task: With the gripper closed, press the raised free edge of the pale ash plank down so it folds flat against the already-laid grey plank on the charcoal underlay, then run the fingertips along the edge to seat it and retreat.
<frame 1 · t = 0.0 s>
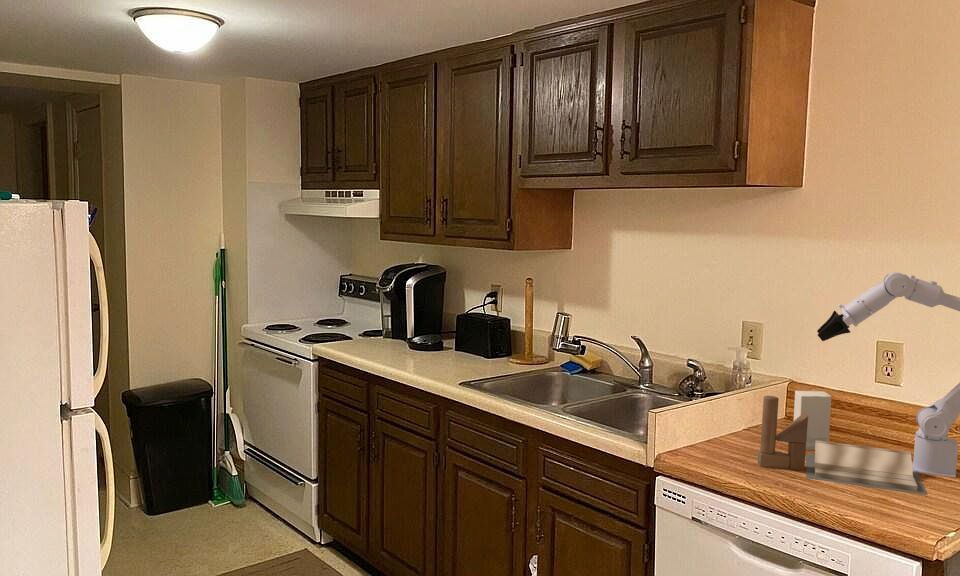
hand: (819, 336, 209), 32 cm above the counter, tool tilted 50°, fingers open, 7 cm apart
loose plank: (862, 459, 200), point 3 cm above the counter, hinge at 30.0°
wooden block: (780, 468, 201), on the counter
underlay mat: (862, 473, 197), on the counter
skincare box: (809, 448, 218), on the counter
laid plank: (863, 478, 192), resting on underlay mat
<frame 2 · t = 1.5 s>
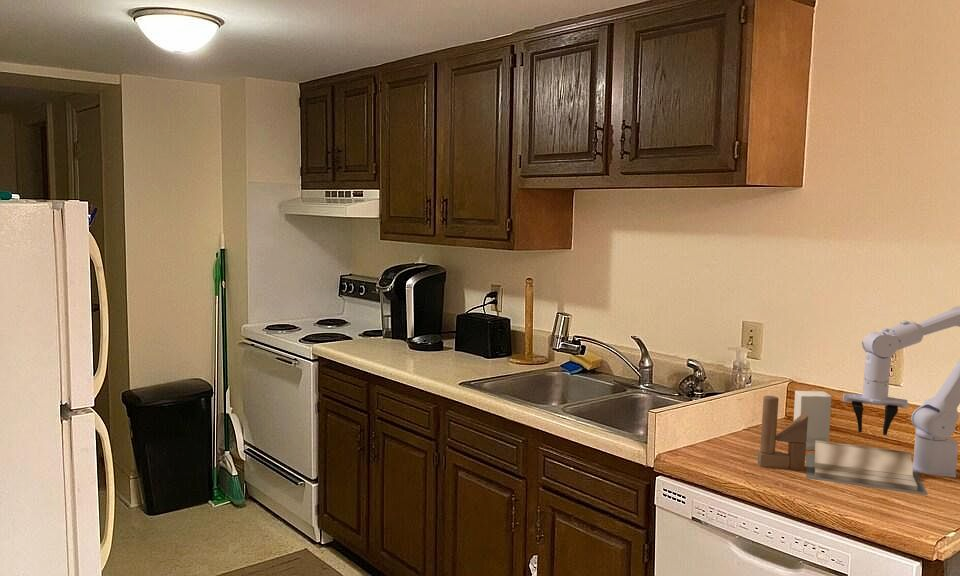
hand: (872, 432, 201), 9 cm above the counter, tool pointing down, fingers open, 5 cm apart
nothing on the counter moved.
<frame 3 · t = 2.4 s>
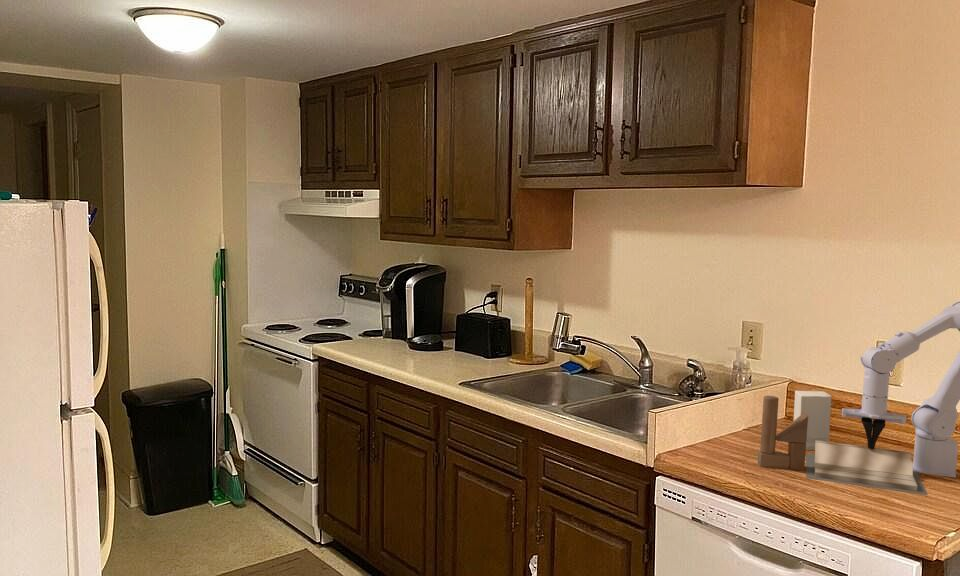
hand: (870, 447, 201), 5 cm above the counter, tool pointing down, fingers closed, pressing on loose plank
loose plank: (862, 459, 200), point 3 cm above the counter, hinge at 30.0°, touching gripper
everything else where it was.
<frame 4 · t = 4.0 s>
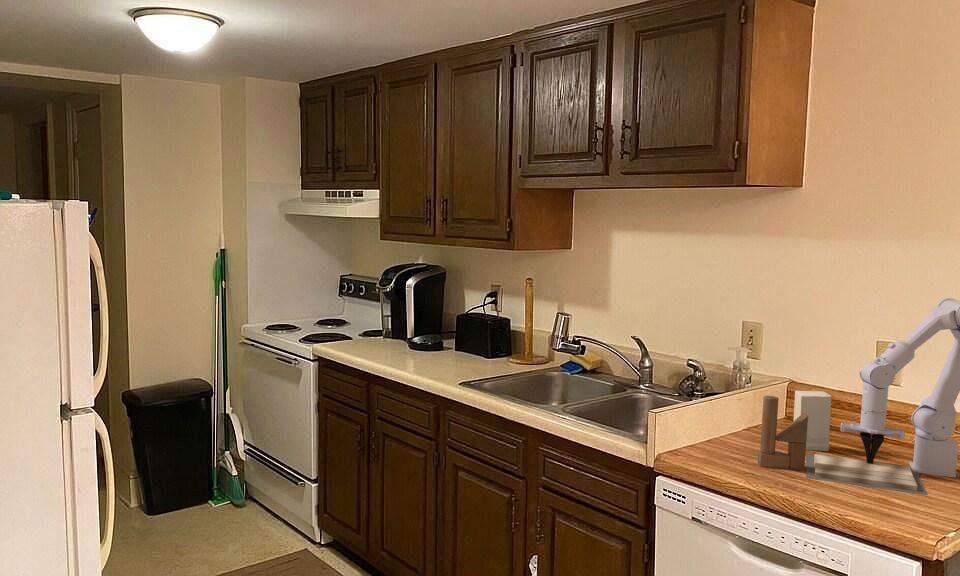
hand: (869, 462, 201), 2 cm above the counter, tool pointing down, fingers closed, pressing on loose plank
loose plank: (861, 466, 200), point 1 cm above the counter, hinge at 1.1°, touching gripper
everything else where it was.
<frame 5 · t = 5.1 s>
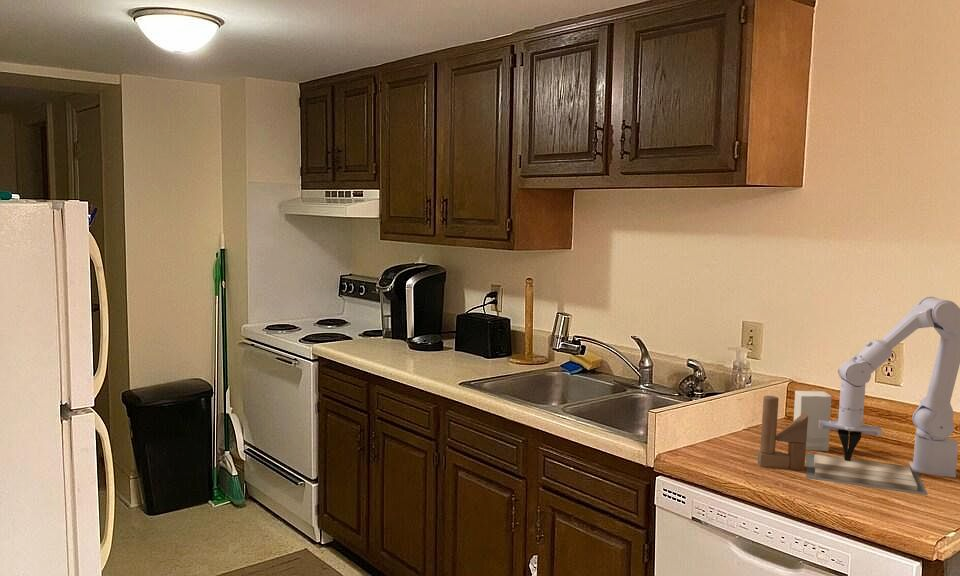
hand: (847, 459, 203), 2 cm above the counter, tool pointing down, fingers closed
loose plank: (861, 466, 200), point 1 cm above the counter, hinge at 0.4°
everything else where it was.
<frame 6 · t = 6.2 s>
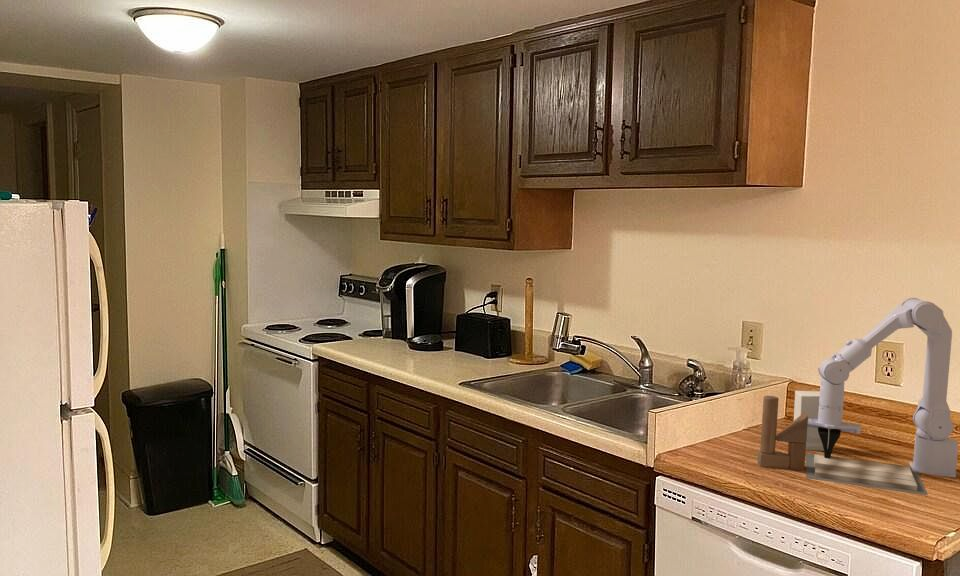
hand: (827, 456, 205), 2 cm above the counter, tool pointing down, fingers closed, pressing on loose plank
loose plank: (861, 466, 200), point 1 cm above the counter, hinge at 0.4°, touching gripper
everything else where it was.
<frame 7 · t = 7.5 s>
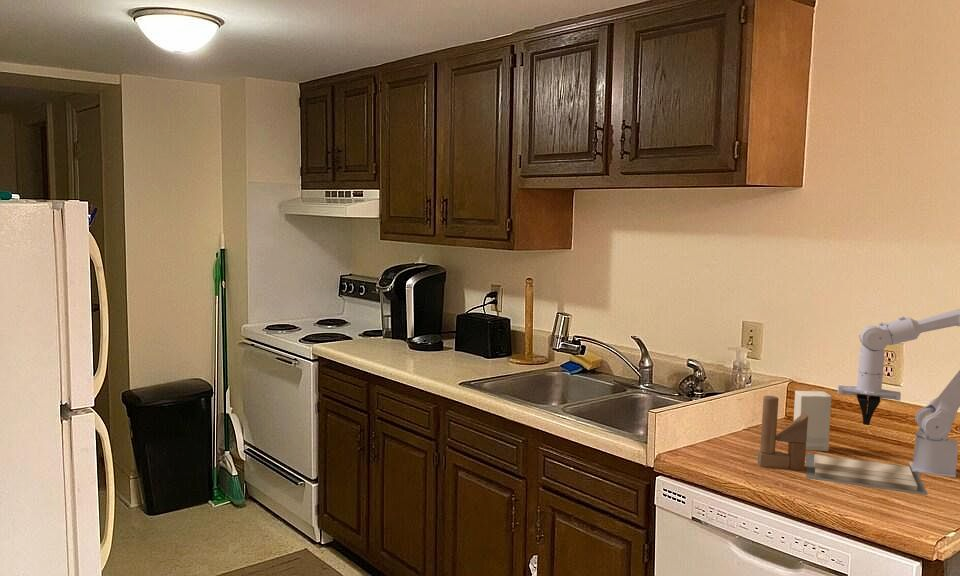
hand: (866, 424, 205), 10 cm above the counter, tool pointing down, fingers closed
loose plank: (861, 466, 200), point 1 cm above the counter, hinge at 0.4°
everything else where it was.
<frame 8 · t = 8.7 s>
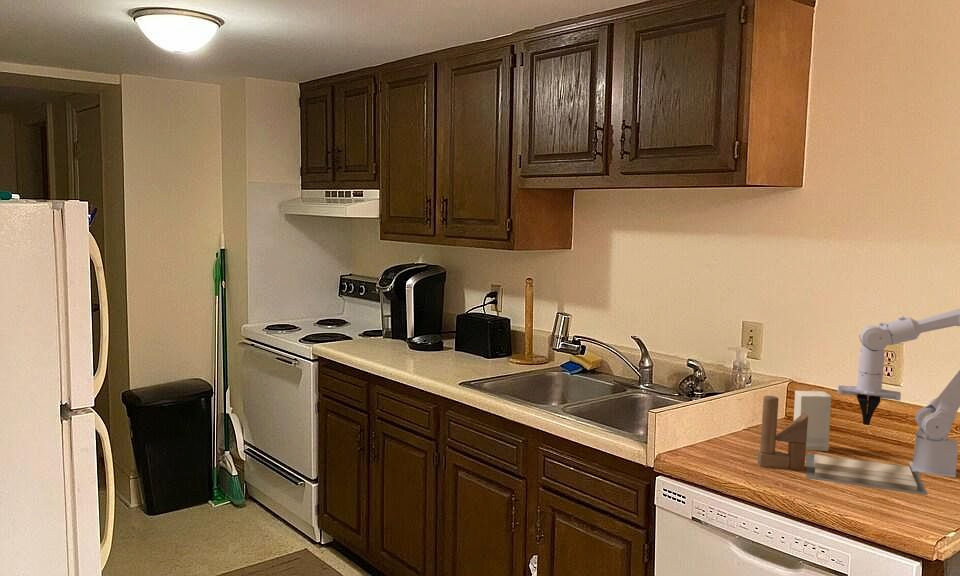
hand: (866, 424, 205), 10 cm above the counter, tool pointing down, fingers closed
nothing on the counter moved.
at the end: loose plank at +0° (first picture: +30°) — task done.
